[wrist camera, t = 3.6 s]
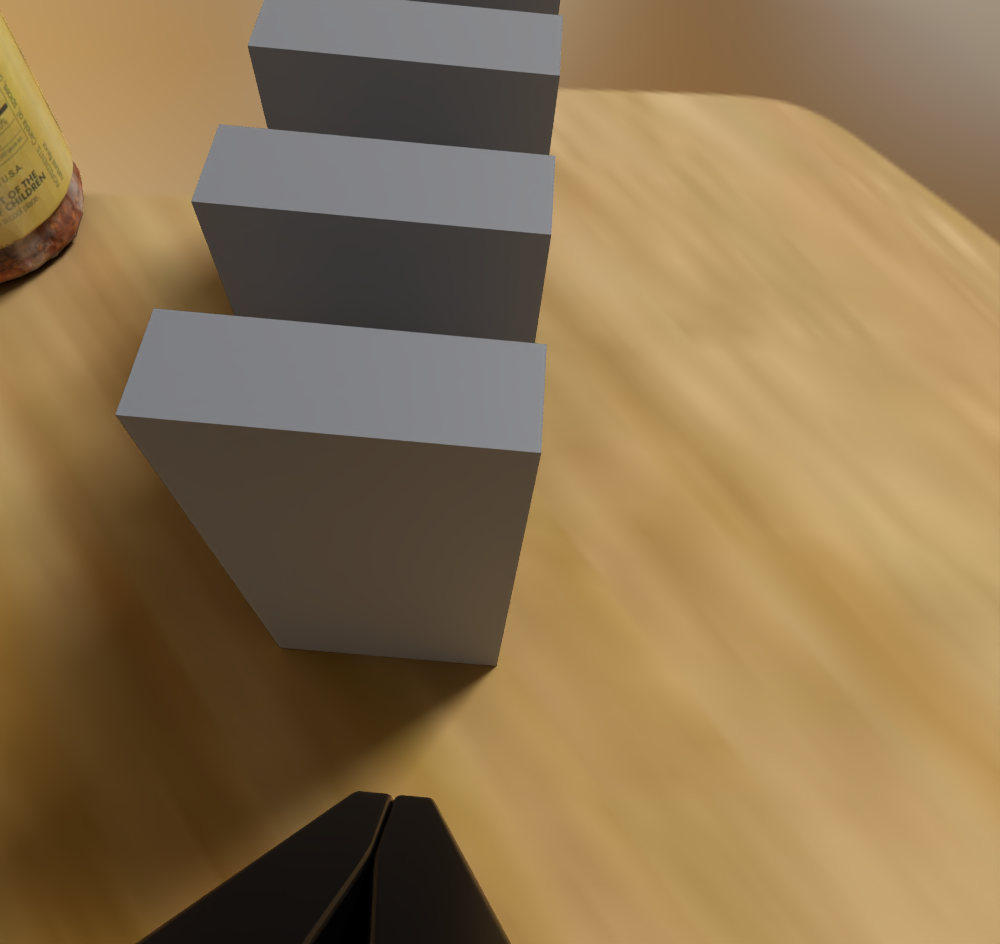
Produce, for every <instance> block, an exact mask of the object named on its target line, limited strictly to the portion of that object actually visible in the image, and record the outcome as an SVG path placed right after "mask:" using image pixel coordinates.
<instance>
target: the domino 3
mask: <svg viewBox="0 0 1000 944" xmlns="http://www.w3.org/2000/svg"><path fill="white" fill-rule="evenodd" d="M546 348H547V344H537V343H526V342H515V341H504V340H493V339H482V338H471V337H461V336H450V335H439V334H428V333H417V332H406V331H395V330H384V329H373V328H362V327H352V326H341V325H330V324H319V323H308V322H297V321H286V320H275V319H264V318H253V317H242V316H232V315H221V314H210V313H199V312H188V311H177V310H166V309H155V308H154V309H153V312H152V315H151V317H150V320H149V323H148V326H147V329H146V331H145V334H144V337H143V340H142V342H141V345H140V348H139V351H138V353H137V356H136V359H135V362H134V365H133V367H132V370H131V373H130V376H129V378H128V381H127V384H126V387H125V389H124V392H123V395H122V398H121V401H120V403H119V406H118V409H117V412H116V414H115V415H116V417H117V418H118V419H119V421H120V422H121V424H122V425H123V426H124V428H125V429H126V431H127V432H128V434H129V435H130V436H131V438H132V439H133V441H134V442H135V443H136V445H137V446H138V448H139V449H140V451H141V452H142V453H143V455H144V456H145V458H146V459H147V460H148V462H149V463H150V465H151V466H152V467H153V469H154V470H155V472H156V473H157V475H158V476H159V477H160V479H161V480H162V482H163V483H164V484H165V486H166V487H167V489H168V490H169V492H170V493H171V494H172V496H173V497H174V499H175V500H176V501H177V503H178V504H179V506H180V507H181V508H182V510H183V511H184V513H185V514H186V516H187V517H188V518H189V520H190V521H191V523H192V524H193V525H194V527H195V528H196V530H197V531H198V533H199V534H200V535H201V537H202V538H203V540H204V541H205V542H206V544H207V545H208V547H209V548H210V550H211V551H212V552H213V554H214V555H215V557H216V558H217V559H218V561H219V562H220V564H221V565H222V566H223V568H224V569H225V571H226V572H227V574H228V575H229V576H230V578H231V579H232V581H233V582H234V583H235V585H236V586H237V588H238V589H239V591H240V592H241V593H242V595H243V596H244V598H245V599H246V600H247V602H248V603H249V605H250V606H251V607H252V609H253V610H254V612H255V613H256V615H257V616H258V617H259V619H260V620H261V622H262V623H263V624H264V626H265V627H266V629H267V630H268V632H269V633H270V634H271V636H272V637H273V639H274V640H275V641H276V643H277V644H278V646H279V647H280V648H289V649H301V650H313V651H324V652H336V653H348V654H360V655H372V656H383V657H395V658H407V659H419V660H431V661H442V662H454V663H466V664H478V665H490V666H497V661H498V657H499V652H500V647H501V642H502V637H503V633H504V628H505V623H506V618H507V613H508V609H509V604H510V599H511V594H512V590H513V585H514V580H515V575H516V570H517V566H518V561H519V556H520V551H521V546H522V542H523V537H524V532H525V527H526V523H527V518H528V513H529V508H530V503H531V499H532V494H533V489H534V484H535V480H536V475H537V470H538V465H539V460H540V456H541V444H542V425H543V406H544V387H545V368H546Z"/></svg>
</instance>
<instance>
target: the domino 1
mask: <svg viewBox="0 0 1000 944" xmlns="http://www.w3.org/2000/svg"><path fill="white" fill-rule="evenodd" d="M562 22H563V16H560V15H551V14H541V13H530V12H520V11H510V10H500V9H489V8H479V7H469V6H459V5H448V4H438V3H428V2H417V1H407V0H264V2H263V5H262V7H261V10H260V13H259V16H258V19H257V21H256V24H255V27H254V30H253V32H252V35H251V38H250V41H249V43H248V48H249V53H250V57H251V61H252V65H253V69H254V74H255V77H256V82H257V86H258V90H259V94H260V98H261V103H262V107H263V111H264V115H265V119H266V123H267V127H268V129H274V130H285V131H295V132H306V133H317V134H327V135H338V136H349V137H359V138H370V139H381V140H391V141H402V142H412V143H423V144H434V145H444V146H455V147H466V148H476V149H487V150H498V151H508V152H519V153H529V154H540V155H549V152H550V144H551V137H552V129H553V122H554V114H555V107H556V99H557V92H558V84H559V77H560V60H561V41H562V40H561V39H562Z"/></svg>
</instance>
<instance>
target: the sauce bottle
mask: <svg viewBox="0 0 1000 944" xmlns="http://www.w3.org/2000/svg"><path fill="white" fill-rule="evenodd" d="M83 200H84V197H83V190H82V181H81V177H80V172H79V170H78V168H77V167H76V165H75V163H74V162H73V160H72V154H71V151H70V148H69V146H68V144H67V142H66V140H65V138H64V137H63V135H62V131H61V129H60V127H59V125H58V123H57V121H56V119H55V117H54V115H53V113H52V111H51V109H50V107H49V105H48V103H47V101H46V99H45V97H44V95H43V93H42V91H41V89H40V87H39V85H38V83H37V81H36V79H35V77H34V75H33V73H32V72H31V69H30V68H29V66H28V64H27V62H26V60H25V58H24V56H23V54H22V52H21V50H20V48H19V45H18V43H17V42H16V40H15V38H14V36H13V34H12V32H11V31H10V28H9V26H8V24H7V23H6V21H5V19H4V17H3V15H2V13H1V11H0V283H2V282H5V281H8V280H12V279H15V278H18V277H21V276H23V275H25V274H27V273H29V272H31V271H34V270H36V269H38V268H39V267H40V266H41V265H43V264H44V263H46V262H47V261H48V260H49V259H52V258H54V257H56V256H58V253H59V252H61V251H62V250H63V248H64V247H65V246H66V245H68V244H69V243H70V242H71V241H72V240H73V239H74V238H75V237H76V235H77V231H78V227H79V224H80V221H81V218H82V215H83Z"/></svg>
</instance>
